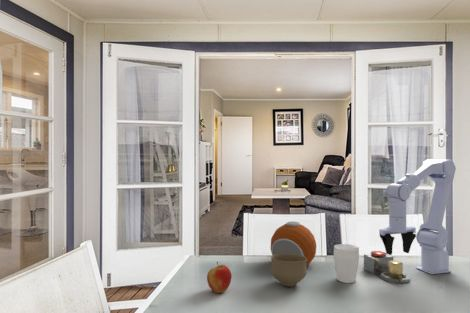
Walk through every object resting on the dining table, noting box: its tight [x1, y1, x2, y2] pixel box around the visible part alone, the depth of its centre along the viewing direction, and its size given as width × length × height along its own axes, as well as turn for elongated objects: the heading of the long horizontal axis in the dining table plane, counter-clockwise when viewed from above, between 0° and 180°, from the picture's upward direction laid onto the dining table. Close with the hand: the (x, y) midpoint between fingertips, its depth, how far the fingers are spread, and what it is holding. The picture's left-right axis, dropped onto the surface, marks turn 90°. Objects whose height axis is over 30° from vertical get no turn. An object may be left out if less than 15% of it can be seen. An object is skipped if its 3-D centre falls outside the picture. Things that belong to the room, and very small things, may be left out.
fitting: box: [387, 260, 404, 279], centre depth 131 cm, size 5×5×6 cm
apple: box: [206, 261, 232, 294], centre depth 119 cm, size 8×8×10 cm
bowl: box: [270, 254, 307, 287], centre depth 125 cm, size 13×13×10 cm
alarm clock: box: [270, 221, 317, 268], centre depth 149 cm, size 19×18×17 cm
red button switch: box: [363, 250, 411, 285], centre depth 136 cm, size 10×20×7 cm, turn 17°
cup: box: [333, 243, 360, 284], centre depth 130 cm, size 9×9×12 cm
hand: (397, 253), depth 131 cm, fingers open, 7 cm apart
